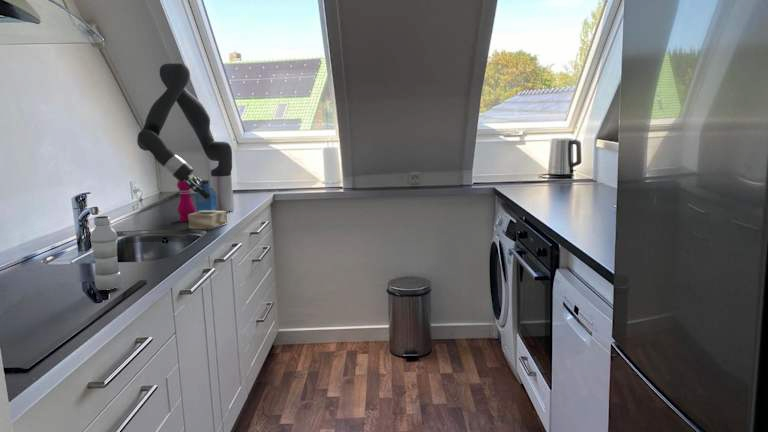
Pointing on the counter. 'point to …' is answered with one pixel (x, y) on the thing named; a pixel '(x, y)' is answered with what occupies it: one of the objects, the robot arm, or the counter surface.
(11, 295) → the counter surface
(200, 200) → the perfume bottle
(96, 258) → the plastic bottle
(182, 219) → the pepper mill
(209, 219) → the birch block
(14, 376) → the counter surface
